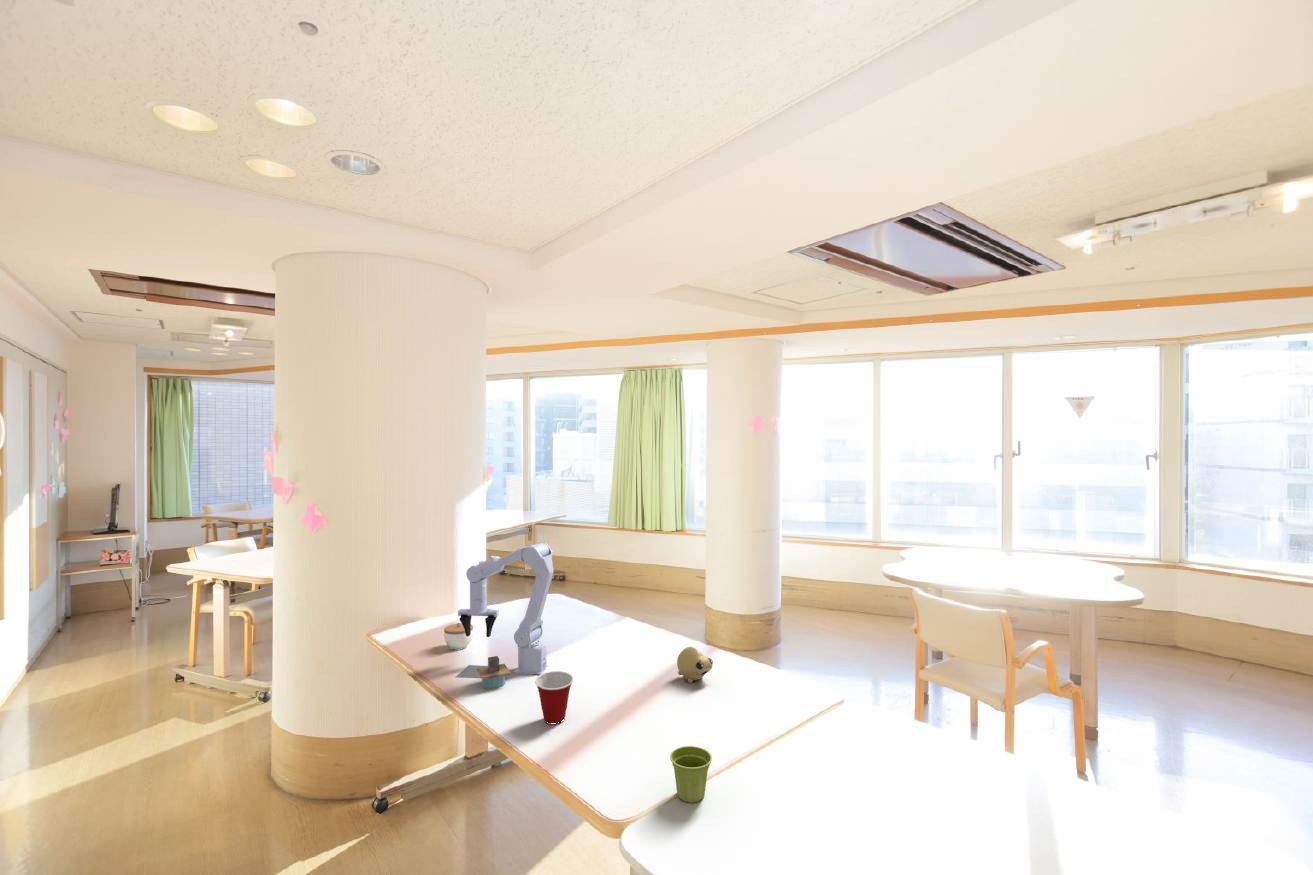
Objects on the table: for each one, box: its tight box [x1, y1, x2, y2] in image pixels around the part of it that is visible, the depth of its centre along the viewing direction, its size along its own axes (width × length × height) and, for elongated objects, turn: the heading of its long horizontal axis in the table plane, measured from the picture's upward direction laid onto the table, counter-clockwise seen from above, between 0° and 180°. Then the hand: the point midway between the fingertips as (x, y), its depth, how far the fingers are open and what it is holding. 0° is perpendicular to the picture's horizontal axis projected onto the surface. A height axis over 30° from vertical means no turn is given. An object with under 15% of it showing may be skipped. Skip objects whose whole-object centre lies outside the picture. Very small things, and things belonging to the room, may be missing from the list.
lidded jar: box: [443, 622, 474, 650], centre depth 234 cm, size 11×11×9 cm
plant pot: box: [669, 745, 713, 803], centre depth 135 cm, size 9×9×9 cm
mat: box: [455, 664, 488, 679], centre depth 208 cm, size 11×11×1 cm
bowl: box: [481, 675, 506, 690], centre depth 197 cm, size 7×7×4 cm
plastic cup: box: [534, 670, 574, 723], centre depth 171 cm, size 11×11×12 cm
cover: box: [477, 655, 511, 681], centre depth 197 cm, size 9×9×5 cm
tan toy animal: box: [676, 646, 714, 683], centre depth 200 cm, size 10×12×11 cm
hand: (478, 635), depth 216 cm, fingers open, 7 cm apart
